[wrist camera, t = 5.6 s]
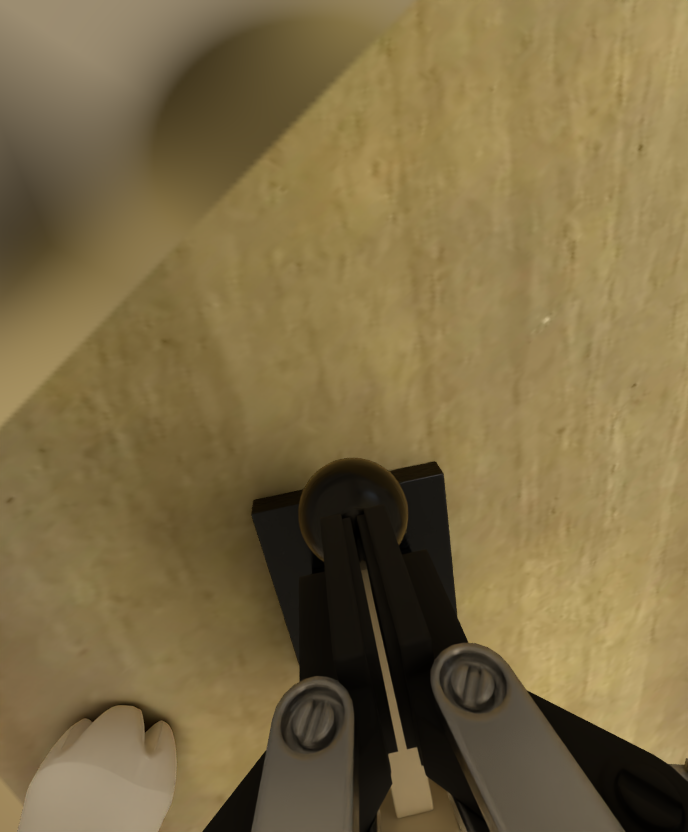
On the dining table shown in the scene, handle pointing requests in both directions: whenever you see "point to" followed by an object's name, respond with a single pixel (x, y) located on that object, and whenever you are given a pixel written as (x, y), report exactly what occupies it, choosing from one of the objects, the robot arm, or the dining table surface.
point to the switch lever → (378, 628)
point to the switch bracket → (296, 560)
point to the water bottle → (104, 777)
